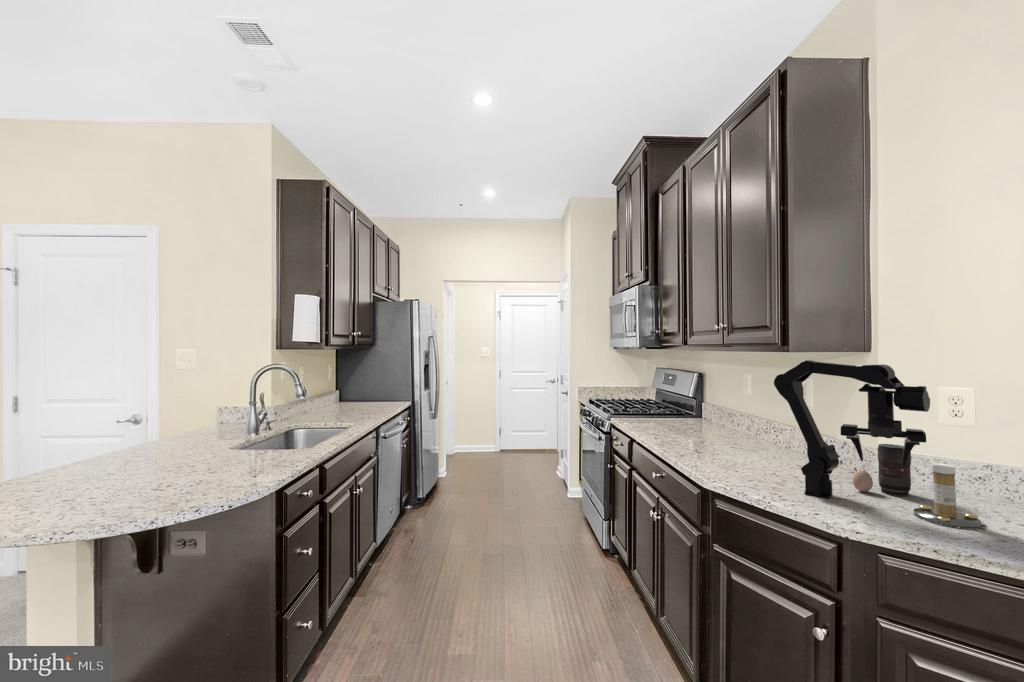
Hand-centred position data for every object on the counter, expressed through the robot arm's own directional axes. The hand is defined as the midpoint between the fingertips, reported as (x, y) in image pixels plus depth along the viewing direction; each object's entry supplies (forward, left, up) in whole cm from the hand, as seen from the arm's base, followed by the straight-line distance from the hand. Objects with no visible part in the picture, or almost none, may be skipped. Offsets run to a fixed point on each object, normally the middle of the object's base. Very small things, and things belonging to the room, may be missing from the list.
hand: (882, 463), depth 129 cm
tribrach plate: (+13, 0, -13) cm, 18 cm away
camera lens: (+3, +21, -13) cm, 25 cm away
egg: (-5, +17, -13) cm, 22 cm away
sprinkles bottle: (+13, 0, -12) cm, 18 cm away
